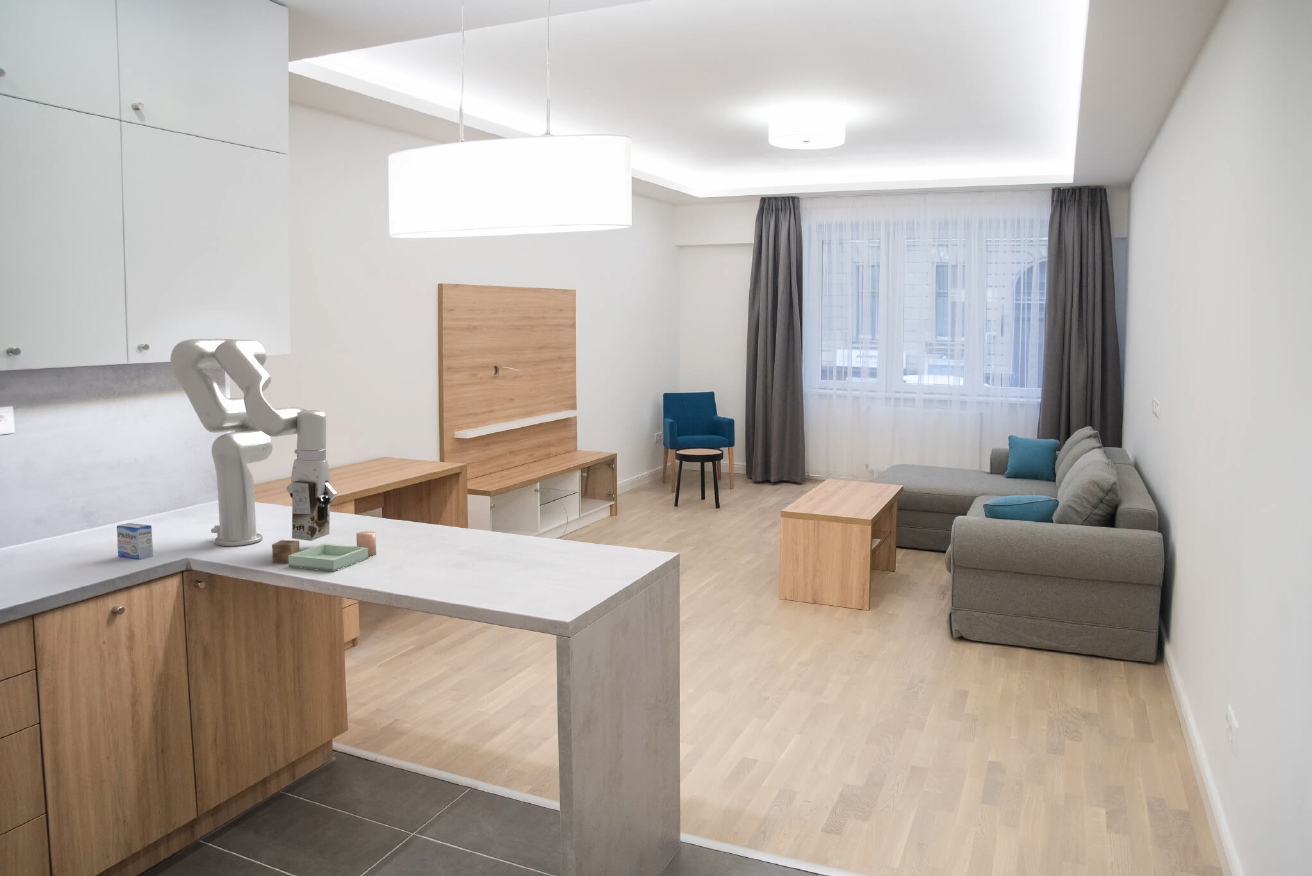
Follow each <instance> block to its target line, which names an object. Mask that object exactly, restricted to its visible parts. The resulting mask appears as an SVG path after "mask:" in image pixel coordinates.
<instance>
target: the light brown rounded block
mask: <svg viewBox="0 0 1312 876" xmlns="http://www.w3.org/2000/svg"><path fill="white" fill-rule="evenodd" d="M376 539H377V537H376V532H375V531H371V530H370V531H369V530H367V531H360V532H357V533H356V547H365V548H368V558H370V556H371V557H374V556H373V555H375V556H376V555H377V540H376Z"/></svg>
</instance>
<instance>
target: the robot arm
mask: <svg viewBox="0 0 1312 876" xmlns="http://www.w3.org/2000/svg"><path fill="white" fill-rule="evenodd" d="M169 359H170V368H171V371H172V375H173V377H174V378H175V380H176V381H177V383H178V384H179V385H180V387H181V388H182V389H183V391H184V393H185V394H186V396H187V398H188V399H189V402H190V404H191V406H192V408H193V410H194V412H195V414H196V416H197V418H198V419H199V421H200V423H201V424H202V426H203V428H204V429H205V430H206V431H208V432H210V433H224V434H222V435H220V436H219V435H218V436H217V438H215V439H214V440H213V442H212V444H211V445H212V446H211V456H212V460H213V463H214V467H215V472H216V474H215V475H216V486H217V501H218V514H219V515H218V517H219V518H218V519H219V524H218V525H217V524H215V525H214V527H211V529H210V532H211V533H212V534H217V535H216V537H215V538H214V542H213V543H214V544H215V545H217V546H225V547H236V546H245V545H251V544H252V545H253V544H256V543H259V542H261V541H262V540H263V535H262V534H261V533H257V523H256V521H257V520H256V502H255V501H256V500H255V498H256V497H255V482H254V477H253V474H252V471H251V470H250V468H249V466H248V465H249V464H253V463H259V462H261V461H265V460H267V459H268V458H269V457H270V456H271V455H272V452H273V442H272V438H274V437H275V438H276V437H282V436H288V435H289V436H291V435H296V449H294V454H295V455H296V458H295V459H294V460H293V464H292V469H291V475H290V476H291V477H290V478H291V479H290V483H289V485H287V487H286V488H285V489H286V491H287V492H288V494H289V496H290V498H291V499H292V497H293V482H294V481H304V482H305V481H306V482H313V483H315V484H316V485H315V497H316V498H318V502H319V505H320V506H319V507H318V521H322V520H325V519H327V515H328V505H329V504H330V505H331V503H332V502H333V500H334V499H335V498H336V496H337V495H338V493H337V491H336V490H335V489H334V488H333V487H332V486H331V473H330V467H329V462H328V460H327V416H326V413H325V412H324V411H321V410H315V409H306V408H302V407H299V406H291V407H281V408H273V407H272V406H271V404H270V403H269V402H268V401H267V400H266V398H265V397H264V395H263V392H264V391H266V389H267V388H268V387H269V386H270V384H271V381H272V377H271V375H270V373H269V372H268V371H267V370H266V369H265V368H264V367H263V366H264V365H265V363H266V361H267V352H266V349H265V348H264V346H263V345H262V344H261V343H260V342H259V341H256V340H253V339H231V338H230V339H228V338H190V339H185V340H182V341H180V342H179V343H177V344H176V345H175V346H174V347H173V349H172V351H171V354H170V358H169ZM221 368H222V370H223V371H224V373H226V374H227V375H228V377H229V378H230V379H231V380H232V382H234V383H235V385H236V386H237V387H238V388H239V389H240V390H241V392H242V393H243V398H242V397H232V398H231V397H230V398H228V397H226V396H225V395H224V394H223V392H222V391H221V389H220V387H219V385H218V383H217V382H216V381H215V380H214V378H213V377H211V376H210V375H209V374H207V373H206V372H205V371H204V370H205V369H221ZM227 432H228V433H227ZM271 437H272V438H271ZM327 495H329V496H328V497H327ZM322 497H323V499H322ZM323 500H324V501H323Z"/></svg>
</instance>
